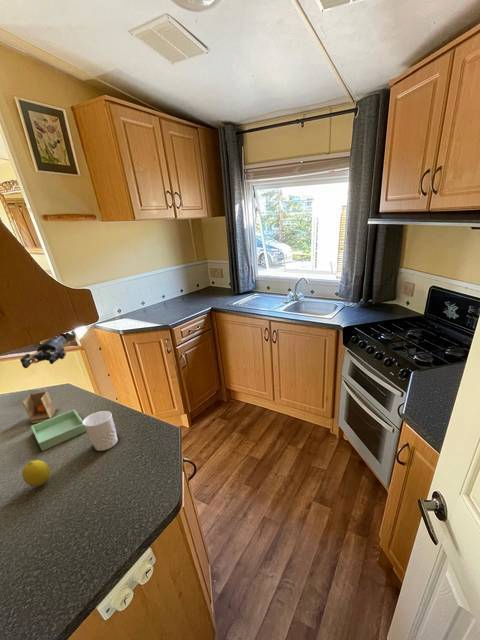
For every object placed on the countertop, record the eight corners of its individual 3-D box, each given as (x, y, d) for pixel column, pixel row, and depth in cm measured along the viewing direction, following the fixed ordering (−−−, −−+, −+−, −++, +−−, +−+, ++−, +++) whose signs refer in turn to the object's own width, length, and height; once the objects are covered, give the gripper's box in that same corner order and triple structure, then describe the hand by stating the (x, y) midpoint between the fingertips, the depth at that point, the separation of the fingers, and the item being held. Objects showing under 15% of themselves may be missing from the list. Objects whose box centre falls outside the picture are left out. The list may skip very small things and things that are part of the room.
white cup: (91, 455, 88) (80, 429, 84) (93, 440, 95) (84, 415, 91) (119, 447, 91) (110, 421, 87) (120, 432, 98) (112, 408, 94)
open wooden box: (38, 414, 111) (29, 394, 107) (55, 411, 112) (47, 391, 108) (32, 423, 105) (22, 402, 102) (50, 419, 107) (41, 399, 103)
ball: (39, 415, 107) (36, 408, 106) (38, 412, 109) (35, 405, 108) (49, 411, 109) (46, 404, 108) (47, 409, 111) (45, 402, 110)
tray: (42, 450, 91) (38, 443, 90) (34, 433, 100) (30, 426, 99) (87, 430, 100) (85, 423, 99) (76, 415, 108) (74, 409, 107)
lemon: (58, 481, 80) (47, 458, 76) (35, 495, 76) (23, 473, 72) (48, 473, 83) (37, 451, 79) (25, 487, 78) (13, 465, 75)
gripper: (28, 343, 122) (11, 358, 108) (67, 338, 125) (55, 351, 111) (35, 359, 125) (19, 376, 111) (73, 353, 129) (62, 369, 115)
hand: (37, 363), depth 111 cm, fingers open, 8 cm apart
